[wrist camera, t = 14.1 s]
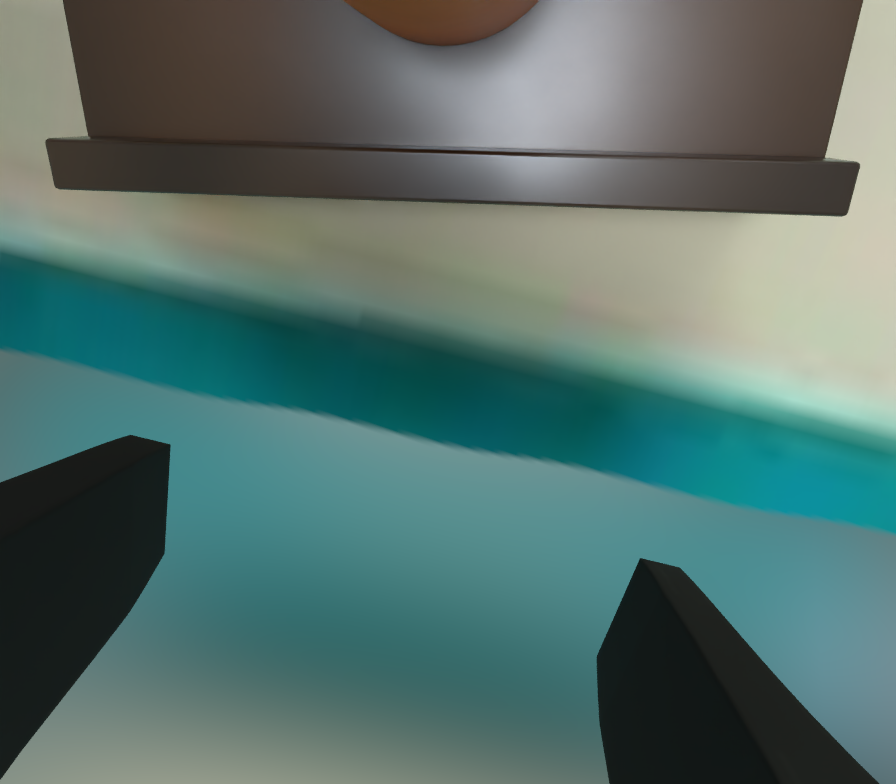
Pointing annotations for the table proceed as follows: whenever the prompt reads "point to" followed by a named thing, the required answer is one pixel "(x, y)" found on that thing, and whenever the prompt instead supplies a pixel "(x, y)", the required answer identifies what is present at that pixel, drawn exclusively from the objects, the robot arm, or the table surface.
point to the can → (443, 18)
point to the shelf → (466, 105)
